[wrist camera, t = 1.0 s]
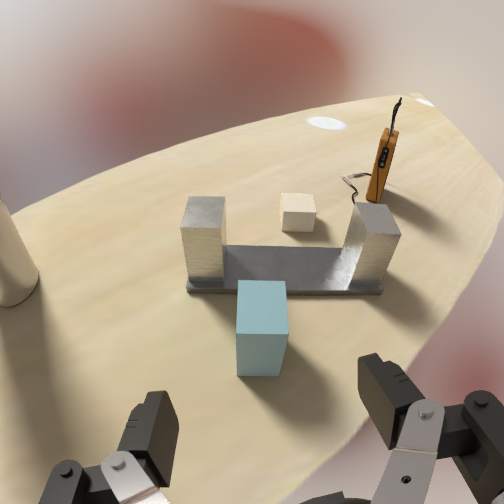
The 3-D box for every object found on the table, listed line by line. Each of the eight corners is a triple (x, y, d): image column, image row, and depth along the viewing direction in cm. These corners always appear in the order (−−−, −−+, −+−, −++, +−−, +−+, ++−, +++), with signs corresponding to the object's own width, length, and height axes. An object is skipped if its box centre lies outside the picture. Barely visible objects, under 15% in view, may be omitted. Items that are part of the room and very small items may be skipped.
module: (237, 375, 33) (235, 333, 27) (238, 327, 37) (238, 277, 31) (278, 376, 33) (289, 334, 27) (276, 328, 38) (284, 278, 31)
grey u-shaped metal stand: (187, 292, 41) (176, 233, 34) (194, 249, 47) (188, 192, 40) (380, 294, 41) (405, 240, 34) (367, 253, 47) (385, 200, 40)
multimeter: (343, 166, 67) (358, 80, 53) (386, 180, 64) (408, 94, 50) (323, 197, 58) (340, 93, 44) (374, 215, 54) (403, 111, 41)
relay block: (281, 231, 50) (283, 211, 48) (279, 212, 54) (281, 192, 51) (312, 232, 51) (316, 212, 48) (308, 213, 54) (311, 193, 51)
